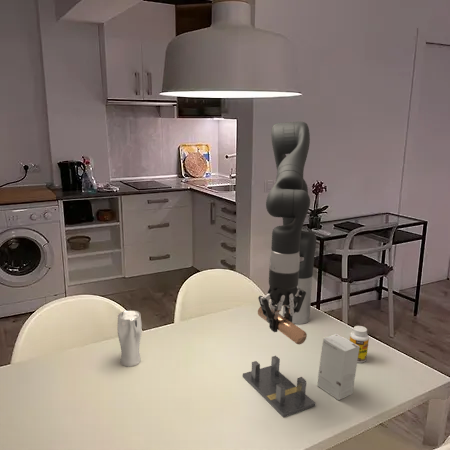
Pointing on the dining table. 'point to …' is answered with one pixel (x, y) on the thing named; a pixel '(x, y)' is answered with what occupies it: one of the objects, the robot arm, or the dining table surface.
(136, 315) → the white sculpted vase
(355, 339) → the supplement bottle
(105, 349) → the dining table surface
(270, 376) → the tube holder
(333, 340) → the skincare box
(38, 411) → the dining table surface
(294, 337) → the copper tube
